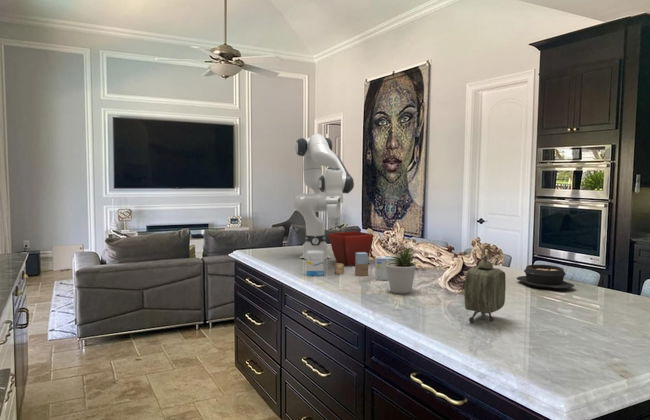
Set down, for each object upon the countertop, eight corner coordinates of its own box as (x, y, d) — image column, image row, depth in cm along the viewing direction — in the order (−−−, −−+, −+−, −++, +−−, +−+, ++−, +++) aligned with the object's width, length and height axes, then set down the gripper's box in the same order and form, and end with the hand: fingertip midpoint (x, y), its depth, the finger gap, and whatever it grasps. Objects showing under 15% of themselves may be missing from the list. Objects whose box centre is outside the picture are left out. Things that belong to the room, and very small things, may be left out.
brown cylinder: (334, 272, 243) (334, 263, 243) (343, 272, 243) (343, 263, 243) (335, 274, 239) (335, 264, 238) (343, 274, 239) (343, 264, 238)
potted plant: (418, 295, 196) (419, 247, 195) (384, 294, 199) (385, 246, 197) (418, 288, 208) (419, 243, 207) (387, 287, 211) (387, 242, 210)
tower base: (355, 273, 241) (355, 262, 241) (366, 273, 241) (366, 261, 241) (356, 276, 235) (356, 264, 235) (368, 276, 235) (368, 264, 235)
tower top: (355, 262, 240) (355, 252, 239) (365, 262, 240) (365, 252, 240) (358, 264, 235) (358, 254, 234) (367, 263, 236) (367, 253, 235)
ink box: (323, 276, 236) (323, 252, 235) (306, 276, 236) (306, 252, 235) (324, 272, 244) (324, 250, 243) (307, 272, 244) (307, 250, 243)
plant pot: (328, 262, 274) (328, 232, 272) (357, 259, 282) (357, 231, 280) (343, 267, 256) (343, 236, 255) (374, 264, 264) (374, 234, 263)
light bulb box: (397, 277, 231) (397, 255, 230) (398, 280, 225) (398, 258, 224) (375, 277, 232) (375, 255, 231) (375, 280, 226) (375, 257, 225)
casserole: (506, 282, 219) (507, 264, 219) (533, 278, 228) (534, 261, 228) (556, 294, 197) (556, 274, 197) (583, 289, 206) (584, 270, 206)
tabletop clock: (480, 313, 172) (481, 244, 170) (505, 317, 166) (507, 246, 164) (463, 322, 160) (465, 249, 159) (490, 328, 155) (492, 251, 153)
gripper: (331, 199, 251) (331, 225, 252) (324, 199, 231) (325, 228, 232) (343, 198, 250) (343, 225, 251) (337, 199, 230) (338, 228, 231)
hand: (334, 226), depth 241 cm, fingers open, 8 cm apart
